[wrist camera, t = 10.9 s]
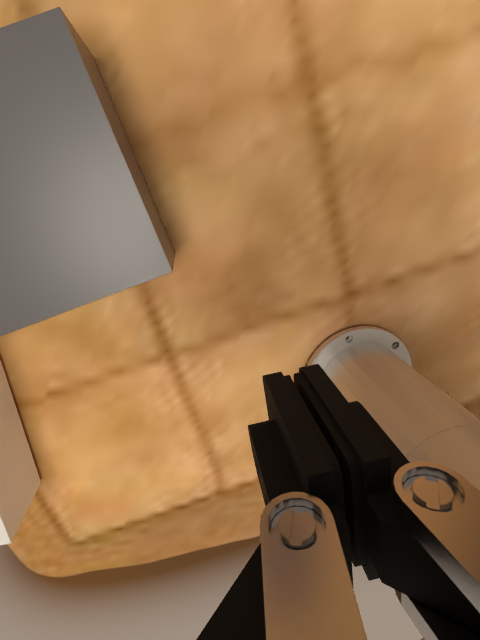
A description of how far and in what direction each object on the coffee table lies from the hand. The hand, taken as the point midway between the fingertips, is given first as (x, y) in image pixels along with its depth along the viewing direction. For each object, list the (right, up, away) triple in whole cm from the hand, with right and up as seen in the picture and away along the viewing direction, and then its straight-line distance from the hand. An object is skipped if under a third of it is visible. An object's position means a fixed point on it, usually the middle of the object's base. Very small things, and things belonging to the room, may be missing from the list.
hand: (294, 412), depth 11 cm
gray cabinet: (-19, +13, +20) cm, 30 cm away
